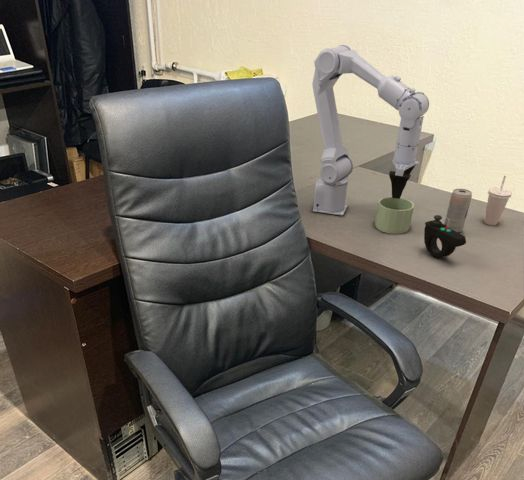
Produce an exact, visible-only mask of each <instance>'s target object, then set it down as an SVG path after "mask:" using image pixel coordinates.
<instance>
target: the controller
mask: <svg viewBox="0 0 524 480" xmlns="http://www.w3.org/2000/svg"><path fill="white" fill-rule="evenodd" d="M442 219H443V216H442V215H439V214H435V215H434V216H433V220H427V221H425V223H424V225H425V226H424V229H423V230H424V232H423V243H424V246H425V249H426V251H427V252H428V253H429V254H430V255H431V256H433V257H435V258H440V259H441V258H445V257H448V256H451V255H452V254H453V253H454V252H455V250H456V249H457V247H458V248H459V247H462V246H464V245H466V243H467V240H466V236H465V235H463V234H462V233H461V234H459V233H458V232H456V231H454V230H452V229H450V228H449V227H448V226H446V225H444V223H443V222H442V221H441V220H442ZM438 240H439V241H440V243H441V249H440V248H439V246H438Z"/></svg>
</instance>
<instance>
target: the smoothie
mask: <svg viewBox="0 0 524 480" xmlns="http://www.w3.org/2000/svg"><path fill="white" fill-rule="evenodd" d="M506 178H507V175H503V177H502V180H501V184H500V187H490V188H489V189H488V191H487V194H488V197H487V202H486V209H485V214H484V215H485V216H484V224H486V225H489V226H497V225H498V224H499V221H500V220H501V216H502V214H503V213H504V210H505V208H506V206H507V203H508V202H509V200H510V198H511V197H512V194H513V193H512V191H511V190H509V189H508V188H504V184H505V182H506Z"/></svg>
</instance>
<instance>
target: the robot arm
mask: <svg viewBox="0 0 524 480" xmlns="http://www.w3.org/2000/svg"><path fill="white" fill-rule="evenodd" d="M313 63H314V73H313V78H312V83H311V85H312V91H313V95H314V96H313V97H314V102H315V106H316V107H315V108H316V112H317V118H318V124H319V128H320V134H321V140H322V145H323V153H322V156H321V158H320V164H321V166H320V171H319V173H320V178H318V179H317V180H316V183H315V187H314V195H313V208H312V212H314V213H320V214H328V215H334V216H340V217H341V216H344V215H345V212H346V211H347V208H348V204H346V199H347V198H346V197H347V189H348V182H349V175H351V174H352V172H353V170H354V163H353V160H352V158H351V157H350V154H349V150H348V149H347V148H346V147H345V146H344V145H343V138H342V134H341V127H340V121H339V115H338V109H337V102H336V98H335V92H334V86H335V85H336V83H337V82H338V80H339V78H340V77H341V76H342V75H345V74H346V75H347V74H354V75H355V76H357V77H358V78H360V79H361V80H363V81H364V82H366V83H367V84H369V85H370V86H372V87H373V88H375V89H376V90H377V95H378V98H379V99H381V100H383V101H384V102H385V103H387V104H388V105H390V106H391V107H393V108H394V109H395V110H396V111H398V115H399V118H400V122H399V127H398V130H397V139H396V142H395V143H396V144H395V150H394V155H393V158H392V164H393V166H394V167H395V170H390V171H389V172H388V176H389V180H390V184H391V197H392V198H396V199H400V198H402V194H403V191H404V190H405V188H406V186H407V183H408V181H409V180H410V179H411V176H412V175H411V173H412V172H413V170H414V169H415V167H416V166H417V167H419V165H420V161H419V160H416V159H417V154H418V149H419V143H420V138H421V133H422V128H423V122H424V116H425V114H426V113H427V112H428V110H429V108H430V100H429V97H428V96H427V95H426V93H424V92H423V91H416V89H415V88H414V87H409V86H408V85H407V84H405V83H403V82H402V81H401V80H402V78H401V77H400V76H399V75H396V76H394V75H389V76H386V75H385V74H383V73H382V72H380V71H379V70H378V69H377V68H375V66H373V65H372V64H371V63H370V62H368V61H367V60H366V59H364V57H362V56H361V55H360V54H359V53H358V51H356V50H355V49H353V48H351V47H350V46H348V45H346V44H340V45H338V46H335V47H331V48H324V49H323V50H321V51H320V52H319V53H318V55H317V56H316V58H315V60H314V61H313Z"/></svg>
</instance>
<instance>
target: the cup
mask: <svg viewBox="0 0 524 480" xmlns="http://www.w3.org/2000/svg"><path fill="white" fill-rule="evenodd" d="M399 209H402V210H399ZM414 209H415V204H414V202H413V201H412V200H409V199H407V198H403V197H400V199H396V198H392V196H386V197H382V198H380V199H379V200H378V202H377V208H376V214H375V220H374V227H375V229H377V230H378V231H380V232H383V233H387V234H393V235H400V234H404V233H407V232H408V231H410V228H411V223H412V218H413V213H414Z"/></svg>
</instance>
